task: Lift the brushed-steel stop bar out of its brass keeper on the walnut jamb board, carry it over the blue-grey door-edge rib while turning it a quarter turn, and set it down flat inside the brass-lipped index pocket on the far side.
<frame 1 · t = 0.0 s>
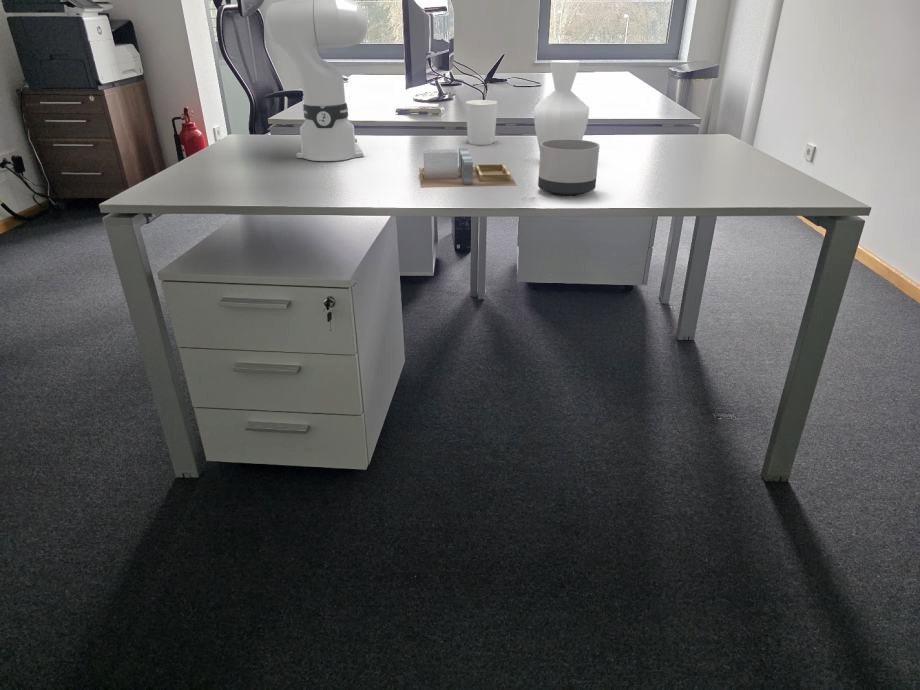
stop bar: (440, 176, 148), point 1 cm above the table, touching jamb board
vase: (557, 162, 168), on the table
planter: (566, 192, 140), on the table
candle holder: (481, 143, 193), on the table
jamb board: (465, 181, 149), on the table
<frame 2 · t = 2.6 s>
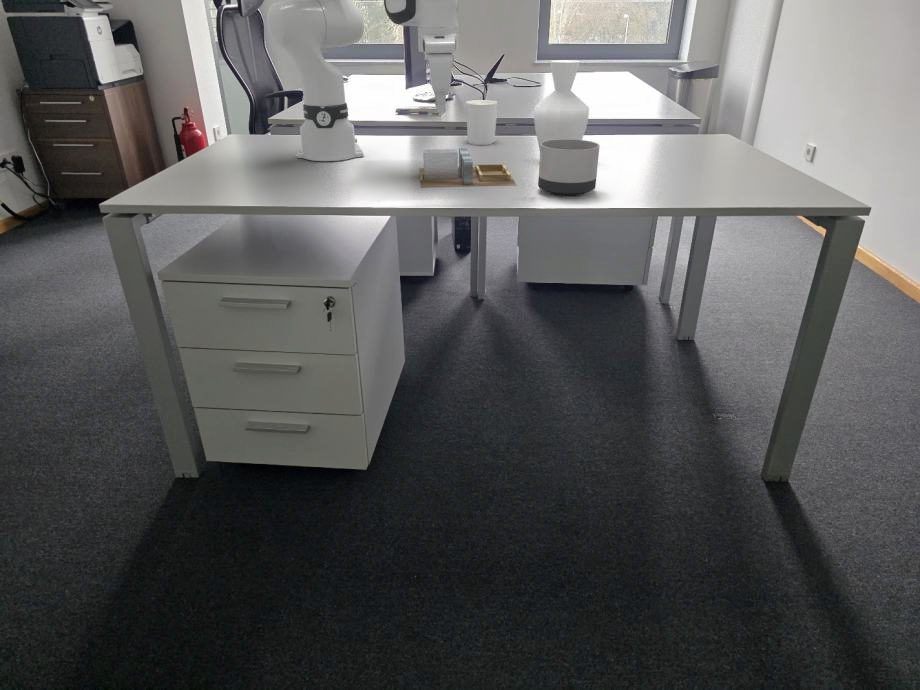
hand: (440, 110, 140), 16 cm above the table, fingers open, 8 cm apart
nothing on the table moved.
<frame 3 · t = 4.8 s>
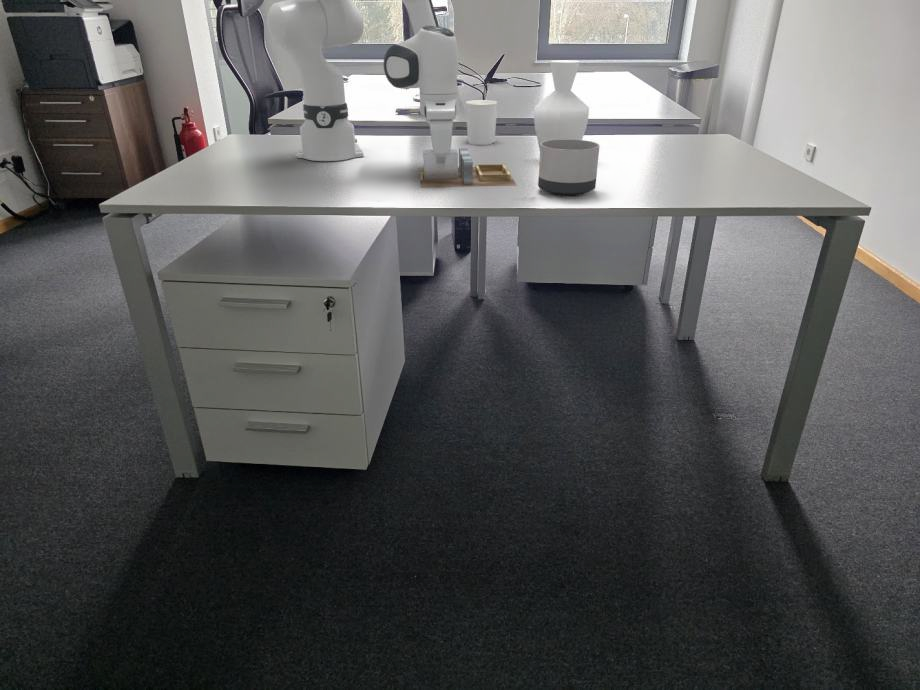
hand: (440, 167, 147), 3 cm above the table, fingers closed on stop bar, 4 cm apart
stop bar: (440, 176, 148), point 1 cm above the table, touching gripper, jamb board
everything else where it was.
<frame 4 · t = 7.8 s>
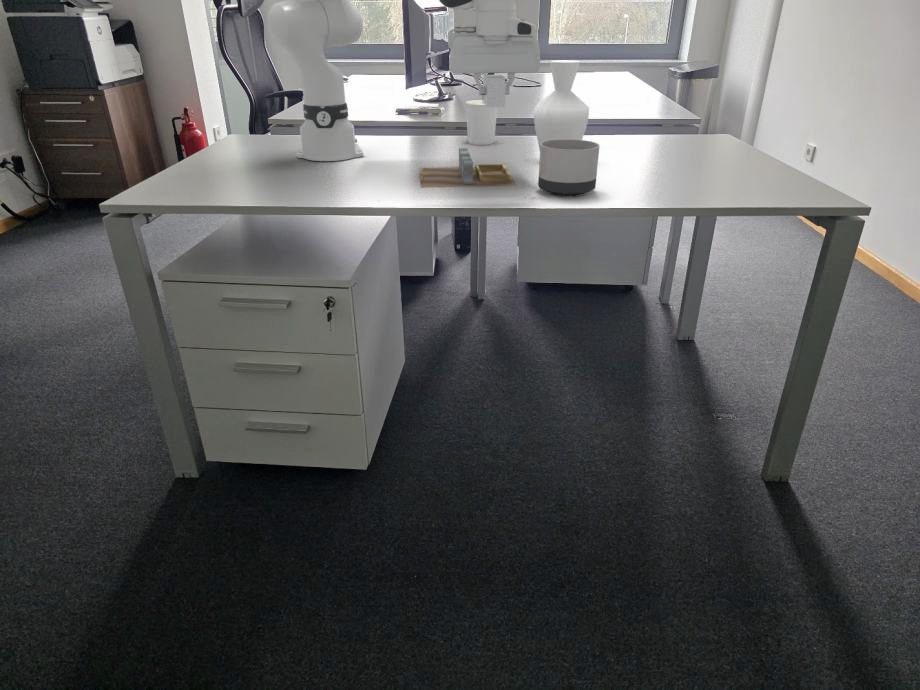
hand: (493, 94, 140), 19 cm above the table, fingers closed on stop bar, 4 cm apart
stop bar: (493, 104, 141), point 17 cm above the table, touching gripper
everything else where it was.
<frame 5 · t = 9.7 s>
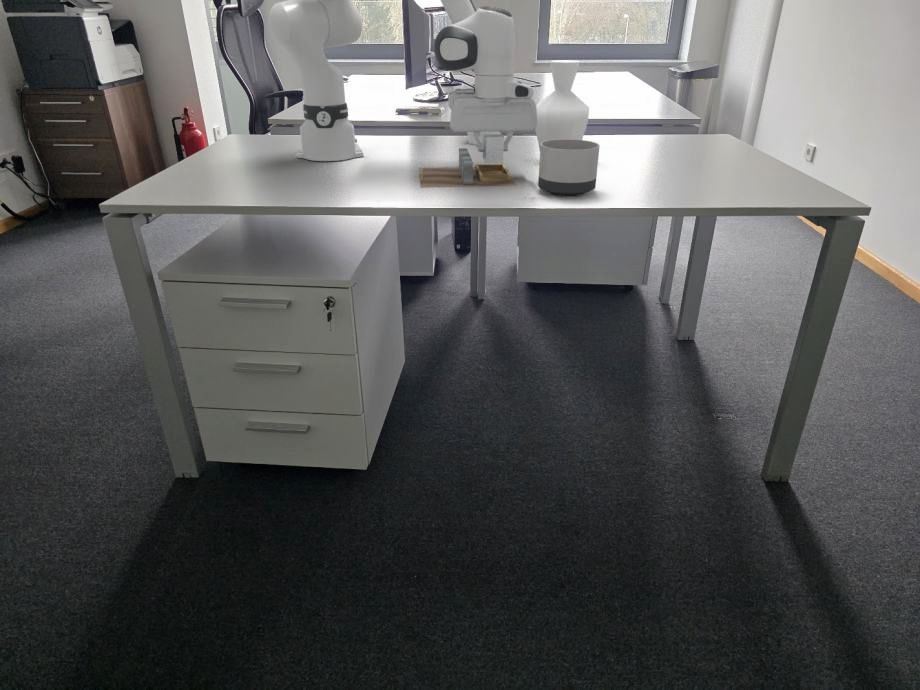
hand: (492, 151, 146), 7 cm above the table, fingers closed on stop bar, 4 cm apart
stop bar: (492, 160, 147), point 5 cm above the table, touching gripper
everything else where it was.
when the fingers open (5 cm above the table, at t = 11.0 s): stop bar drops 2 cm, resting on jamb board.
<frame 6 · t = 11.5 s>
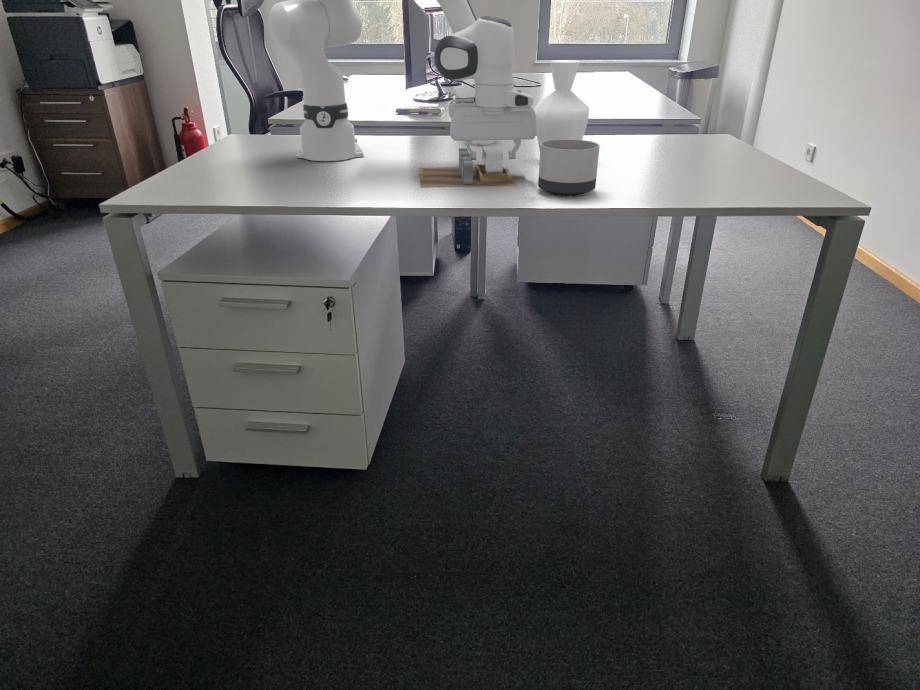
hand: (492, 159, 147), 5 cm above the table, fingers open, 8 cm apart
stop bar: (491, 175, 148), point 1 cm above the table, touching jamb board
everything else where it was.
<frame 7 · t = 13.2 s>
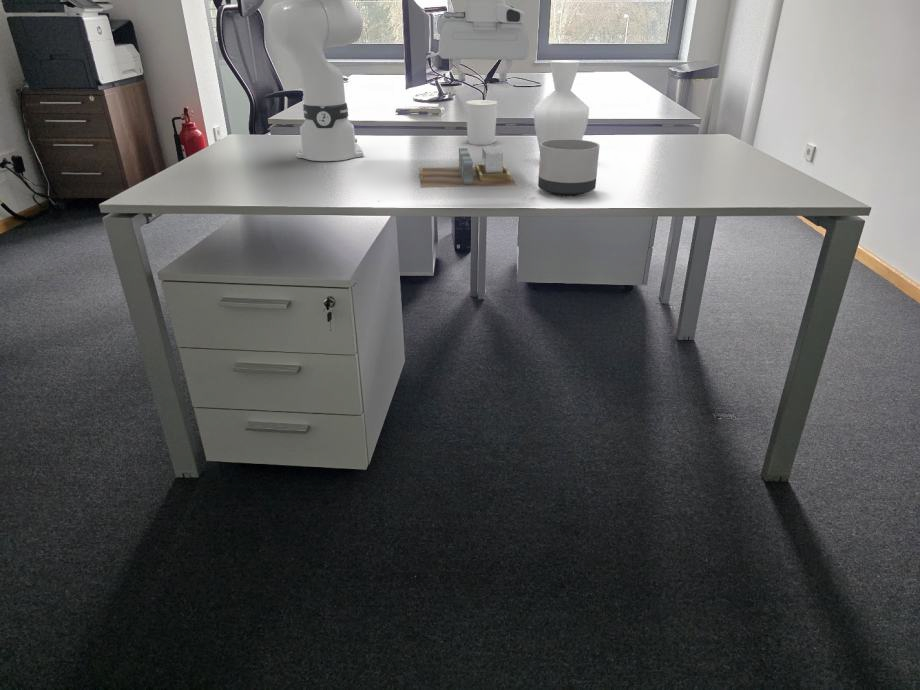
hand: (482, 81, 141), 22 cm above the table, fingers open, 8 cm apart
nothing on the table moved.
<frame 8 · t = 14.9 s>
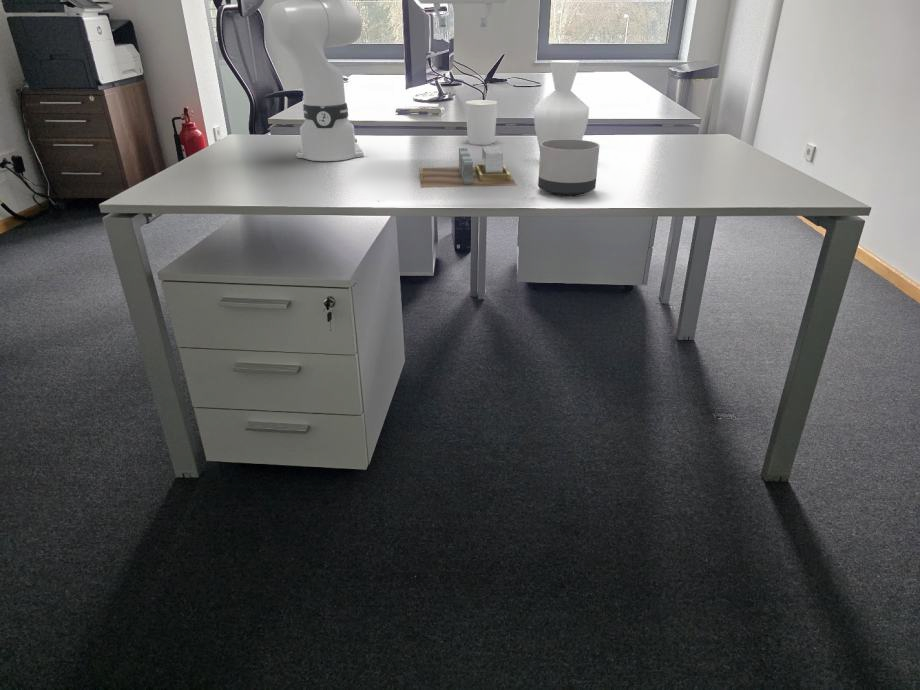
hand: (462, 26, 140), 33 cm above the table, fingers open, 8 cm apart
nothing on the table moved.
at the end: stop bar 0.1 cm from the target spot on the jamb board, point 1.2 cm above the jamb board's base; stop bar tilted 0°; the gripper is holding nothing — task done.
